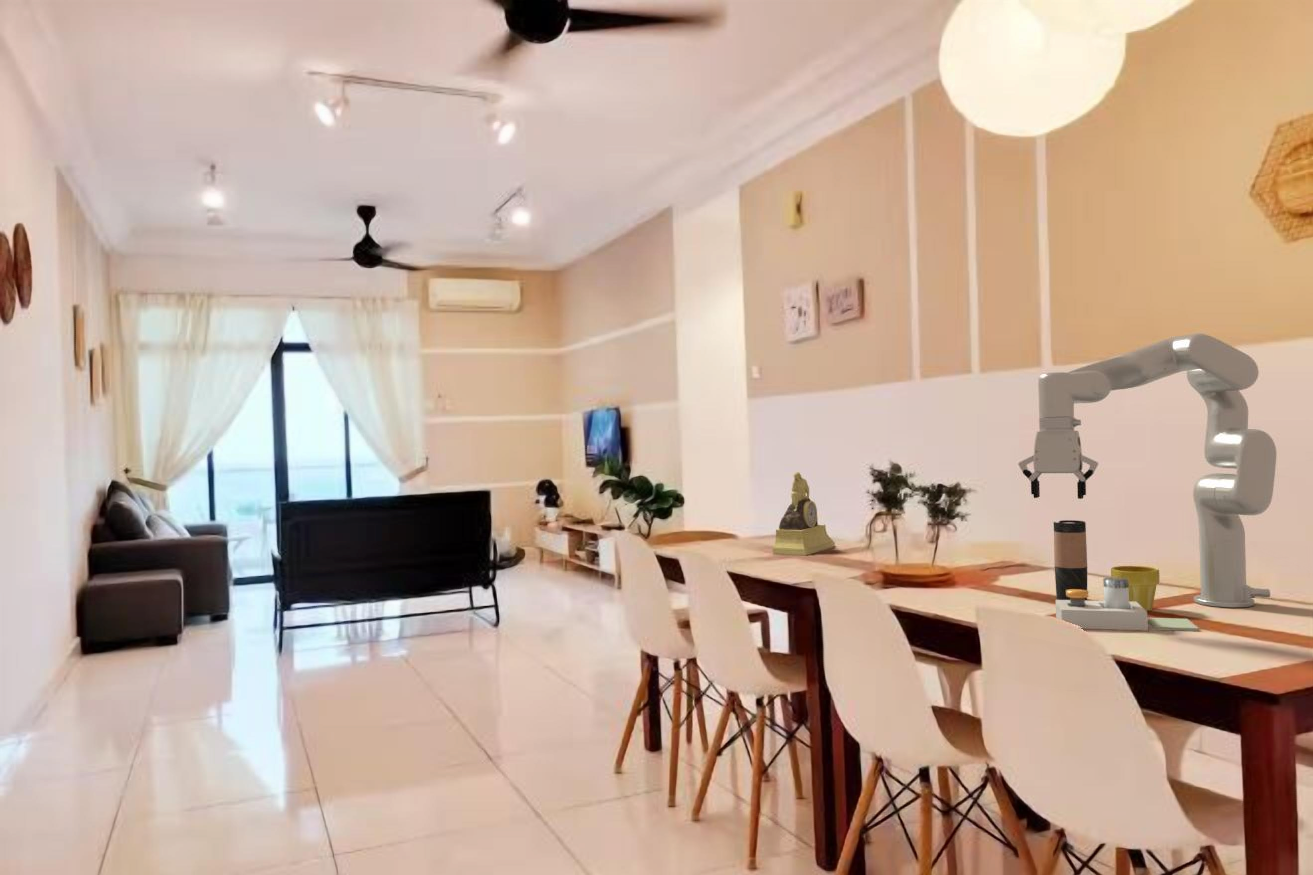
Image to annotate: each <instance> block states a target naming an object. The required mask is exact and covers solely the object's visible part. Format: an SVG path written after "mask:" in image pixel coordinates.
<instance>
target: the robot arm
mask: <svg viewBox="0 0 1313 875" xmlns="http://www.w3.org/2000/svg"><path fill="white" fill-rule="evenodd" d="M1185 371H1186V379H1187V381H1188V383H1189V385H1190V386H1191V387H1192V388H1193V389H1194V390H1195V391H1196V392H1197V393H1198V395H1200V397H1201V399H1203V401H1204V404H1205V406H1206V410H1207V415H1206V416H1207V418H1206V419H1207V420H1206V421H1207V422H1206V430H1205V432H1206V433H1205V441H1204V449H1203V450H1204V452H1203V453H1204V458H1205V461H1207V463H1208V464H1209V465H1211V466H1213V467H1216V468H1221V469H1236V473H1209V474H1206V475H1203V476H1202V477H1200V478H1199V479H1198V480H1197V481H1196V482H1195V484H1194V487H1193V490H1192V492H1193V493H1192V495H1193V496H1192V497H1193V501H1194V506H1195V509H1196V514H1197V520H1198V535H1199V537H1198V543H1199V574H1200V575H1199V576H1200V577H1199V579H1200V594H1196V595H1194V596H1193V602H1195V603H1196V604H1199V605H1204V606H1210V607H1211V606H1212V607H1218V608H1219V607H1220V608H1248V607H1253V606H1255V598H1256V597H1259V598H1270V596H1271V591H1270V589H1269V588H1260V587H1259V588H1257V587H1256V588H1255V587H1251V586H1250V585H1249V584H1247V563H1246V561H1247V559H1246V533H1245V531H1246V530H1245V526H1244V524H1243V521H1242V519H1241V517H1240V515H1241V516H1259V515H1261V514H1263V513H1264V512H1266V511H1267V510H1268V508H1269V507H1270V505H1271V503H1272V500H1273V495H1274V486H1275V475H1276V466H1277V456H1278V455H1277V447H1276V444H1275V441H1274V439H1273V438H1272V436H1271V435H1270V434H1269V433H1267V432H1265V431H1263V430H1261V429H1256V428H1249V407H1248V403H1247V400H1246V399H1245V397H1244V396H1243V394H1242V393H1241V392H1240V391H1244V390H1247V389H1248V388H1250V387H1251V386H1254V384H1255V383H1256V381H1257V380H1258V379H1259V378H1258V377H1259V373H1260V372H1259V367H1258V365H1257V363H1256V361H1255V360H1254V359H1253V358H1252V357H1251V356H1250V355H1248V354H1246V353H1245V352H1244V351H1241V350H1240V349H1238V348H1235V347H1233V345H1232V346H1231V345H1230V344H1228V343H1226V342H1224V341H1221V339H1219V338H1216V337H1214V336H1211V335H1209V334H1204V333H1192V334H1187V335H1185V334H1184V335H1177V336H1174V337H1169V338H1166V339H1164V340H1159V341H1158V342H1155V343H1152V344H1148V345H1145V346H1144V347H1141V348H1137V349H1135V350H1132V351H1129V352H1127V353H1123V354H1119V355H1116V356H1113V357H1111V358H1107V359H1104V360H1101V361H1098V362H1094V363H1090V364H1088V365H1085V366H1082V367H1079V368H1076V369H1072V370H1070V371H1066V372H1061V371H1060V372H1059V371H1058V372H1054V371H1053V372H1045V373H1042V374H1040V375H1039V377H1038V380H1037V382H1038V383H1037V384H1038V385H1037V386H1038V420H1039V422H1038V424H1039V428H1038V429H1039V431H1036V434H1035V439H1034V447H1033V448H1034V449H1033V455H1031V456H1029V457H1027V458H1025V459H1023V460H1022V461H1020V462H1018V463H1017V464H1018V466H1019V468H1020V470H1021V472H1022V474H1023V475H1024V476H1025V477H1026V478H1027V479H1028V480H1029V481H1030V494H1031V495H1033V498H1034V499H1037V498H1040V489H1041V488H1040V481H1039V478H1040V476H1041V475H1042V474H1073V475H1075V477H1077V479H1078V481H1077V499H1078V500H1081V499H1084V496H1087V495H1086V494H1087V482H1086V481H1087V480H1089V478H1091V477H1092V475H1094V473H1095V472H1096V470H1097V467H1098V465H1099V462H1098V461H1096V460H1094V459H1092V458H1090V457H1087V456H1085V455H1083V454H1082V452H1083V451H1082V443H1081V438H1080V437H1081V436H1080V432H1079V430H1075V429H1076V427H1077V426H1081V425H1082V420H1081V419H1078V418H1075V407H1074V404H1091V403H1098V402H1101V401H1103V400H1104V399H1106V398H1107V397H1108V396H1109V394H1110V393H1111V392H1112V391H1117V390H1119V391H1120V390H1127V389H1133V388H1138V387H1142V386H1144V385H1147V384H1151V383H1153V382H1156V381H1158V380H1160V379H1164V378H1166V377H1170V376H1172V375H1175V374H1177V373H1181V372H1185ZM1031 463H1033V470H1034V471H1033V472H1031V471H1030V469H1029V468H1028V465H1029V464H1031ZM1083 463H1085V464H1087V465H1089V467H1088V469H1087V471H1086V472H1083V471H1082V470H1083Z"/></svg>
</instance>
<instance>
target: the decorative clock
mask: <svg viewBox="0 0 1313 875" xmlns="http://www.w3.org/2000/svg"><path fill="white" fill-rule="evenodd" d="M793 478H794V479H793V481H792V485H791V493H790V495H791V503H790V505H788V507H787V509H786V510H785V512H784V515H783V517H781V519H780V523H779V525H778V529H775V540H774V544H773V548H772V554H773V555H785V556H804V557H805V556H808V555H812V554H815V553H818V552H821V551H824V550H827V549H828V550H829V549H830V548H834V547H836V541H834V540H833V539H832V537H830V536H829V534H828V533H827V528H826V524H819V523H818V508H817V505H816V503H815V502H814V501H813V500H811V499H810V486H809V485H808V482H807V479H806V478H803V477H802V474H801V473H800V472H799V471H795V472H794V473H793Z"/></svg>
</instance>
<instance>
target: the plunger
mask: <svg viewBox="0 0 1313 875" xmlns="http://www.w3.org/2000/svg"><path fill="white" fill-rule="evenodd" d="M1066 596H1067V597H1070V607H1085V598H1087V599H1088V598H1089V596H1090V595H1089V590H1088V589H1087V590H1081V589H1069V590H1066Z"/></svg>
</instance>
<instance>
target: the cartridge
mask: <svg viewBox="0 0 1313 875" xmlns="http://www.w3.org/2000/svg"><path fill="white" fill-rule="evenodd" d="M1103 601H1104V608H1106V609H1129V583H1128V579H1125V578H1111V577H1104V578H1103Z"/></svg>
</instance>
